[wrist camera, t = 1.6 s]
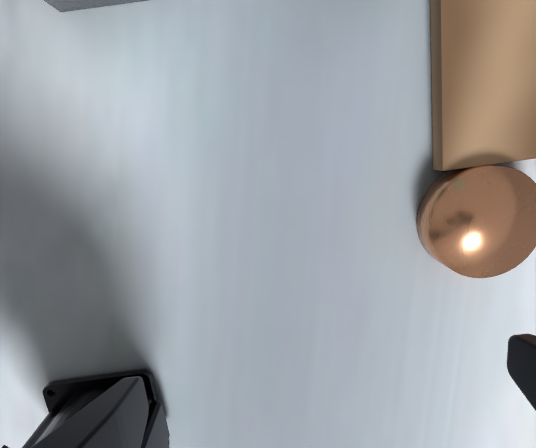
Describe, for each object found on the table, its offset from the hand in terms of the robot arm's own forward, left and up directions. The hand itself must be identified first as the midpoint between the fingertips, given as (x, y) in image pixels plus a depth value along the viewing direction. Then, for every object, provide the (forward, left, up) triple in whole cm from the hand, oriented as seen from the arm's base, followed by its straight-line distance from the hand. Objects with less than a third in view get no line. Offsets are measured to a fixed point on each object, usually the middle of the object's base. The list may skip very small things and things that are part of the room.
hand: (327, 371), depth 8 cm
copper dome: (+11, 0, -12) cm, 16 cm away
